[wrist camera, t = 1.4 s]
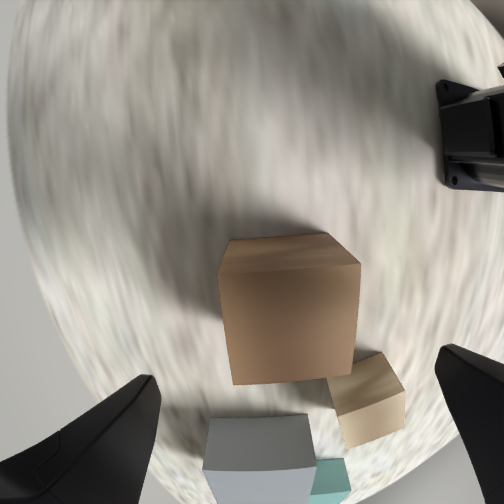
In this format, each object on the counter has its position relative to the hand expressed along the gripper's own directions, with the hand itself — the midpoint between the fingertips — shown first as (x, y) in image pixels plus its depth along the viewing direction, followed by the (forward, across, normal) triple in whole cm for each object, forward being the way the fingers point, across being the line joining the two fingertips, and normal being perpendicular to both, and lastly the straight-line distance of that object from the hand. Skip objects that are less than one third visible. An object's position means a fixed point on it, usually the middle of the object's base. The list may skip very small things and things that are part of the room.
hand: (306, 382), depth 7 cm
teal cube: (+8, -3, +20) cm, 22 cm away
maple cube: (+8, -5, +8) cm, 12 cm away
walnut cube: (+8, 0, 0) cm, 8 cm away
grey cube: (+8, +2, +14) cm, 16 cm away
